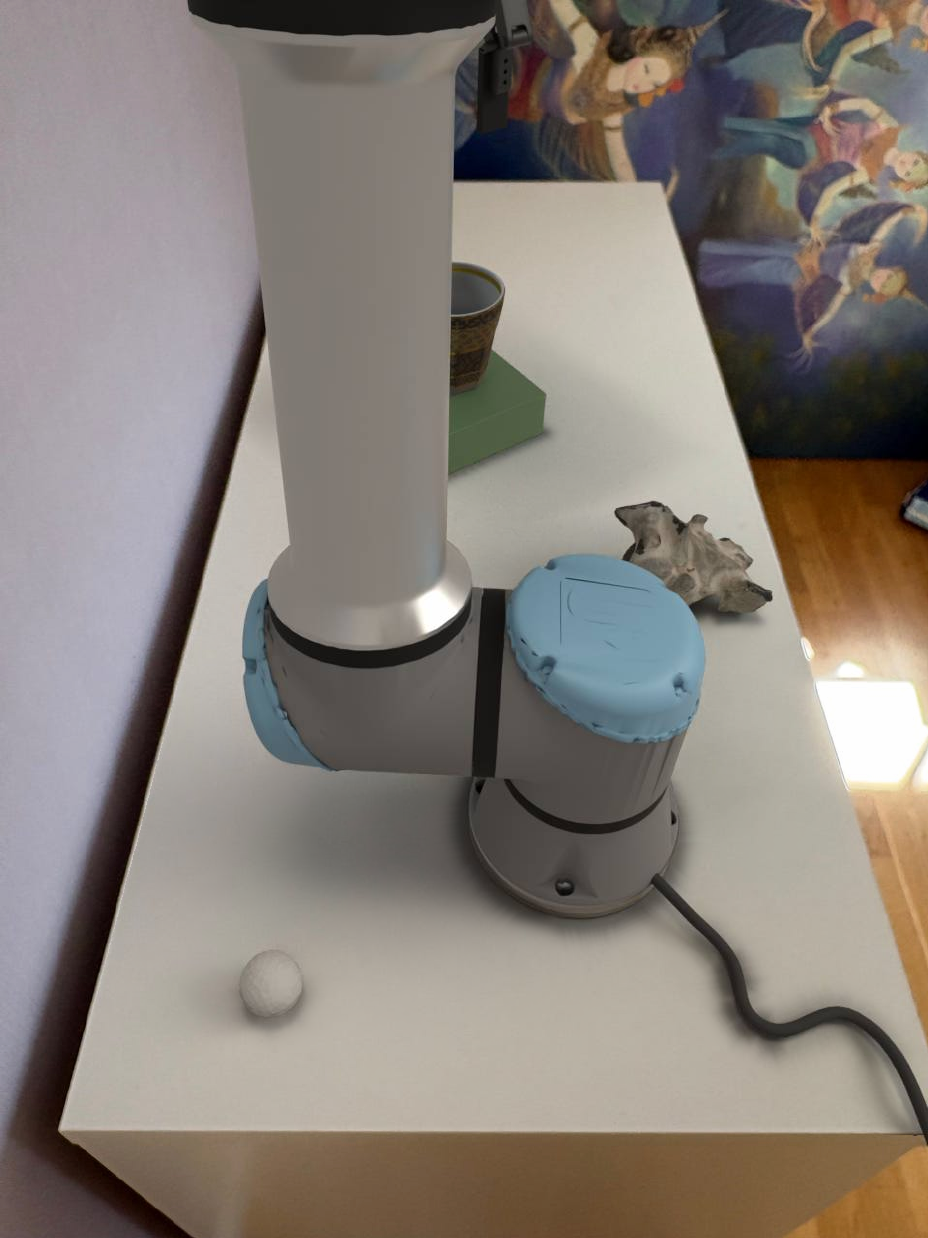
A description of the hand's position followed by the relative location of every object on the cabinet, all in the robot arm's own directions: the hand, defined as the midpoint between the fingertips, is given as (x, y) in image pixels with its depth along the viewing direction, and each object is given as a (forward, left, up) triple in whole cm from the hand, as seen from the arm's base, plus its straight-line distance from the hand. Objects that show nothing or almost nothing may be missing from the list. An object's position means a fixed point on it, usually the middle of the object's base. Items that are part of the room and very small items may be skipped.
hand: (447, 102), depth 86 cm
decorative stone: (-41, 0, -21) cm, 46 cm away
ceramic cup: (-8, +5, -24) cm, 26 cm away
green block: (-7, +5, -29) cm, 30 cm away
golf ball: (-51, +48, -29) cm, 76 cm away
